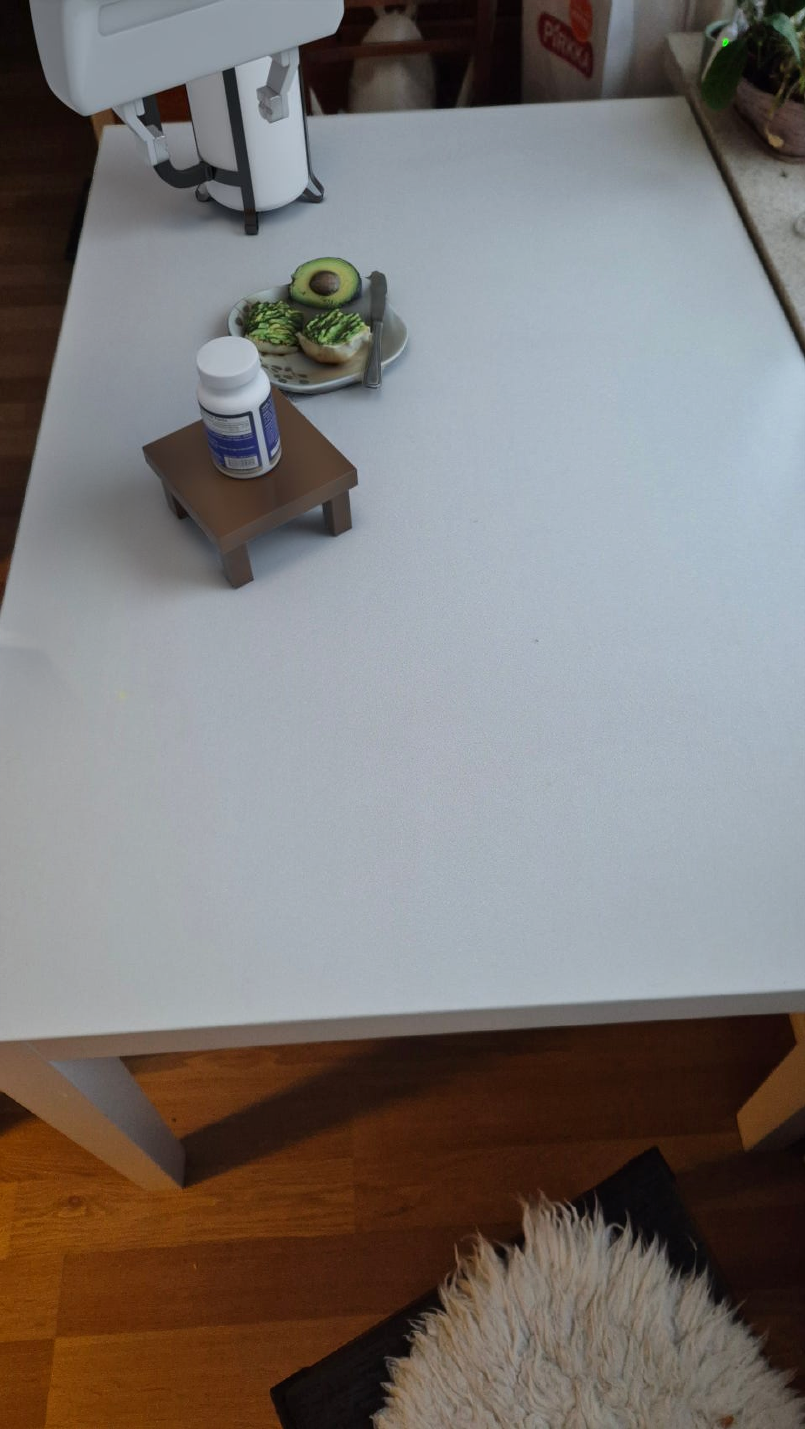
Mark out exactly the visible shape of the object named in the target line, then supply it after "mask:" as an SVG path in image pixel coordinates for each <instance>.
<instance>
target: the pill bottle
mask: <svg viewBox="0 0 805 1429" xmlns="http://www.w3.org/2000/svg"><path fill="white" fill-rule="evenodd" d="M195 365H196V370H197V373H198V377H199V379H198V381H197V383H196V388H195V392H196V397H197V404H198V407H199V411H200V414H201V419H203V423H204V427H205V431H206V435H207V439H208V443H209V447H210V451H211V455H212V458H213V461H214V464H215V465H216V467H217V468H218V469H219V470H220V471H221V472H223V473H224V474H226V475H228V476H231V477H234V478H242V479H245V478H253V477H257V476H260V475H262V474H265V473H266V472H268V471H269V470H271V469H272V468H273V467H274V466H275V465H276V464H277V462H278V460H279V458H280V456H281V442H280V437H279V431H278V425H277V420H276V414H275V409H274V403H273V397H272V392H271V387H272V385H270V382H269V379H268V376H267V375H266V373H265V372H264V371H263V370H262V369H261V368H260V359H259V355H258V351H257V348H256V346H255V345H254V344H253V343H252V342H251V341H249V340H247V339H245V338H242V337H236V336H230V335H226V336H221V337H217V338H214V339H212V340H210V341H208V342H206V343H204V344H203V345H202V346H201V347H200V348H199V350H198V351H197V353H196V354H195Z"/></svg>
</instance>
